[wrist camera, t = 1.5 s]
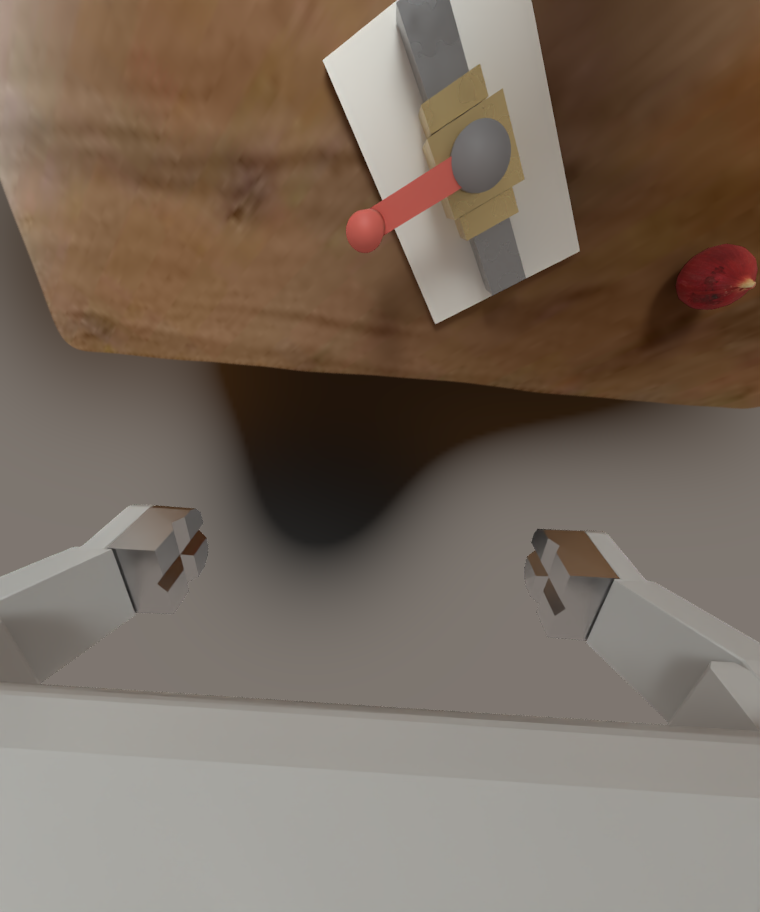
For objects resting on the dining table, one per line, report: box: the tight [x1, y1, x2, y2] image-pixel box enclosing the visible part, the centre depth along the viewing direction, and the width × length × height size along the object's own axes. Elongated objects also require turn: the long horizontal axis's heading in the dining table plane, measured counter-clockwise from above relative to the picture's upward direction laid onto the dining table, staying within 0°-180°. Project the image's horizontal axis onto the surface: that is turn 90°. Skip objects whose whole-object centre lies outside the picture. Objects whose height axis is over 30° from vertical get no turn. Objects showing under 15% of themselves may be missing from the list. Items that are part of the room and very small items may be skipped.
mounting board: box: [323, 0, 580, 324], centre depth 34 cm, size 24×16×1 cm, turn 28°
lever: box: [346, 118, 511, 253], centre depth 26 cm, size 13×4×9 cm, turn 118°
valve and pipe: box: [396, 0, 526, 295], centre depth 32 cm, size 22×6×7 cm, turn 28°
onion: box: [676, 244, 758, 310], centre depth 36 cm, size 6×6×8 cm
